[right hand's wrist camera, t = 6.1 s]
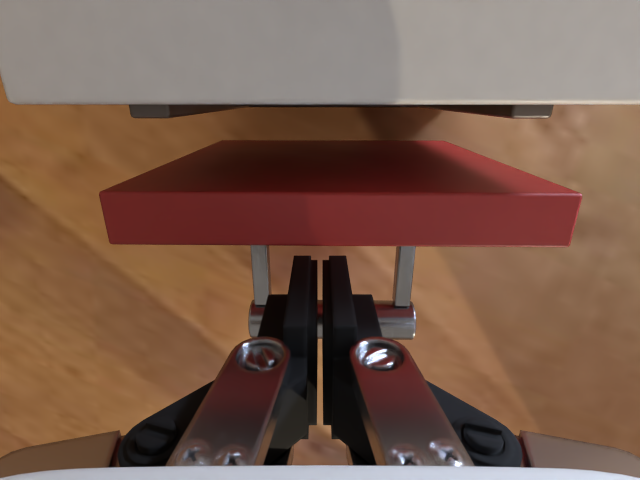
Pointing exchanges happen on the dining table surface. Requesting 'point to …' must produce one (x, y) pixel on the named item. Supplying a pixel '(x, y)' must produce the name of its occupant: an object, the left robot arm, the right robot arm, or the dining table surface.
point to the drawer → (340, 201)
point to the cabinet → (321, 52)
